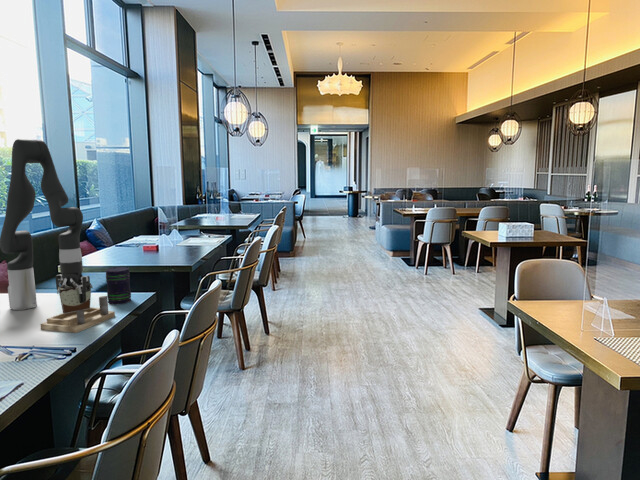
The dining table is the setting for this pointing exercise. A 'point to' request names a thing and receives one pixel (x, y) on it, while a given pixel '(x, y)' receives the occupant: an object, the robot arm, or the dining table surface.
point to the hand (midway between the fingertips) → (74, 301)
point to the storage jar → (118, 285)
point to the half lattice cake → (73, 299)
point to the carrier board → (77, 327)
